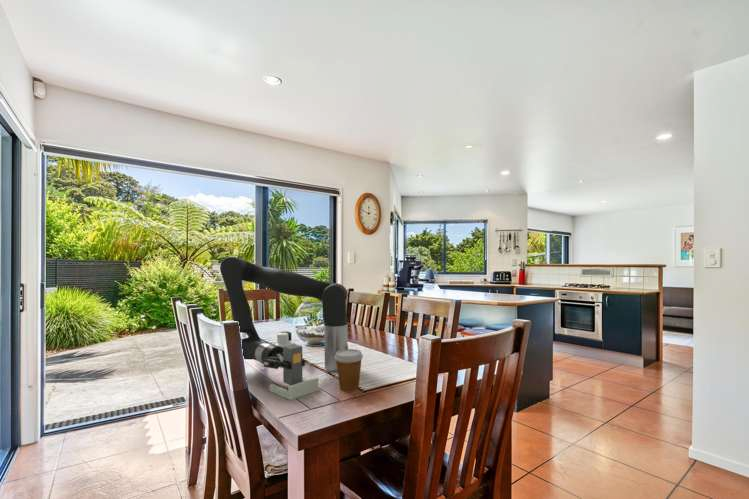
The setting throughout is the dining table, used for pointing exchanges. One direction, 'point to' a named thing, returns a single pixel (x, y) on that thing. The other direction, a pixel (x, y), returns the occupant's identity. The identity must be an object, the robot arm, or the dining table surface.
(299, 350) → the tall gray pillar block
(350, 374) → the disposable coffee cup
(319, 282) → the robot arm
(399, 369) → the dining table surface
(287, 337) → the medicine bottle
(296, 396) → the mount
